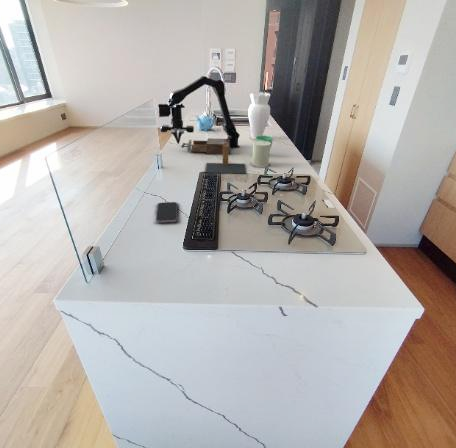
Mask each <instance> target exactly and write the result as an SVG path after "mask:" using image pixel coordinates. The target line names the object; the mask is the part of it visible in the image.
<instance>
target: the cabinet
mask: <svg viewBox="0 0 456 448" xmlns="http://www.w3.org/2000/svg"><path fill="white" fill-rule="evenodd" d="M206 141H207V152H206V155H217V156H220V155H221V156H223V142H229V156H230V155H231V154H230V153H231V148H230V139H227V138H210V137H209V138H207V139H206Z"/></svg>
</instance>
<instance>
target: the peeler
mask: <svg viewBox="0 0 456 448" xmlns="http://www.w3.org/2000/svg"><path fill="white" fill-rule="evenodd" d="M229 156H230V155H229V142H223V155H222V163H223V165H228V164H229V158H230V157H229Z"/></svg>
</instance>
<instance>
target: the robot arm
mask: <svg viewBox="0 0 456 448" xmlns="http://www.w3.org/2000/svg"><path fill="white" fill-rule="evenodd" d="M205 85H206V86H209V87H211V88H212V91H213V93H214V95H215V96H216V98H217V101H218V105H219V108H220V112H221V115H222V118H223V123H221V126H222V129H223V132H224V133H226V135H227V138H226V139H230V149H235V148H240V145H239V138H240V136H241V135H240V133H239V132H238V131H237V128H236V126H235V123H234V122H233V120H232V118H231V113H230V110H229V107H228V103H227V99H226V96H225V95H226V88H225V87H226V86H225V82H224V81H223V80H222V79H218V78H215V79H212V78H209V77H207V76H205V75H201V76H200V77H199V78H197V79H196V80H194V81H193V82H191V83H189V84H188V85H185V86H184V87H183V88H180V89H176V90H174V91H171V93H170V94H169V99H168V100H167V102H166V103H158V104H157V116H158V118H167V117H168V118H169V117H170V116H171V118H170V120H171V121H170V124H171V125H172V126H169V125H168V124H163V125H161V127H160V132H161V133H167V132H168V131H170V134H171V135H173V137H174V138H175V141H176V143H177V144H178V145H179V144H180V142H181V138H182V135H184V134H185V132H186V133H194V131H195V127H194V125H186V126H184V120H183V113H182V109H185V108H186V107H185V105H183V103H182V102H183V101H184V100H185V98H187V97H188V96H189V95H190V94H192V93H194V92H195V91H197V90H199V89H200V88H202V87H204V86H205Z"/></svg>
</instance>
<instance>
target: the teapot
mask: <svg viewBox="0 0 456 448" xmlns="http://www.w3.org/2000/svg"><path fill="white" fill-rule="evenodd" d="M195 117H196V123H197V127H198V129H199V131H203V130H204V132H208V131H211V130H212V128H213V126H214V124H215V123H214V122H215V121H214V120H215V117H213V114H211V115H209V117H208V116H207V115H204V116H203V117H200V118H199V116H198V115H195ZM212 117H213V118H212Z"/></svg>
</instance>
